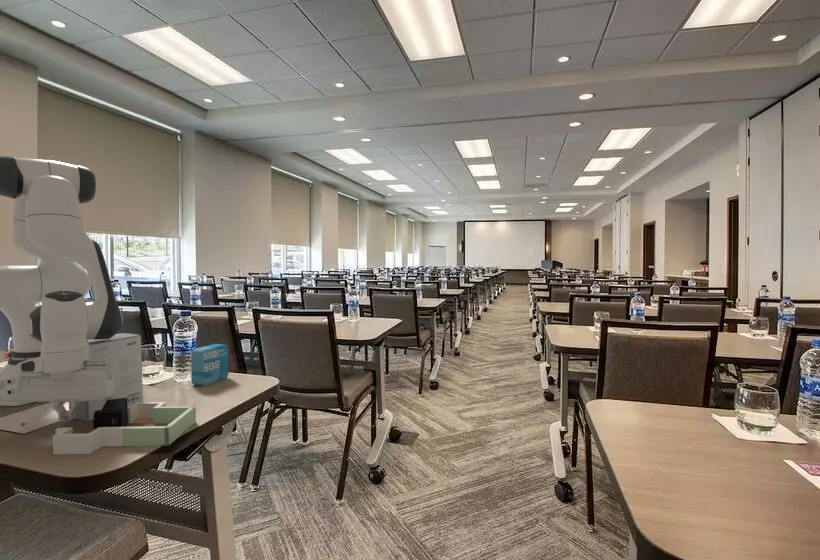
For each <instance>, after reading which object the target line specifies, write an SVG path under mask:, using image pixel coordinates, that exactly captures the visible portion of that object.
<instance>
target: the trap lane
mask: <svg viewBox="0 0 820 560" xmlns="http://www.w3.org/2000/svg"><path fill="white" fill-rule="evenodd" d="M102 408H103V407H97V408H95V411H98V410H102ZM196 408H197V407H196V406H195V405H194V406H192V405H189V406H186V405H185V406H183V405H182V406H167V402H166V401H150V402H149V401H143V402H136V403H134V404H132V405H131V406H129V407H128V425H148V424H150V425H151V424H153V425H154V424H155V426H152V425H151V426H127V427H98V428H97V429H95V430H94V429H93V430H92V431H90V432H88V433H74V427H57V428H56V429H55V434H54V435H53V436H52V448H53V449H52V450H53V451H52V454H53V455H86V454H88V455H90V454H92V453H94V452H96V451H97V450H98V449H100V448H101V447H102V448H103V447H151V446H153V447H154V446H155V447H156V446H157V447H159V446H160V445H164V446H170V445H172V443H174V442H175V441H176V440H177V439H178V438H179V437H180V436H181V435H183V432H184V431H185V430H186V431H187V430H188V429H189V428H190V427H192V426H193V425H194V424H195V423H197V421H196V420H197V418H196V417H197V416H196V411H197V410H196ZM158 424H163V425H164V424H167V425H164V426H163V425H162V426H161V425H159V426H158ZM156 425H157V426H156ZM186 431H185V432H186ZM185 432H184V433H185Z"/></svg>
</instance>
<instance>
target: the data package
mask: <svg viewBox="0 0 820 560" xmlns="http://www.w3.org/2000/svg"><path fill="white" fill-rule="evenodd" d="M190 356H191V357H190V359H191V360H190V366H191V368H190V369H191V370H190V371H191V374H190V375H191V383H192V385H194V386H200V387H201V386H202V387H205V386H206V387H207V386H209V385H212V384H215V383H218V382H221V381H223V380H226V379H227V378H228V377H229V347H228V345H227V344H223V343H221V344H220V343H214V344H209V345H205V346H201V347H197V348H196V347H195V348H194V349H192V351H191V353H190Z"/></svg>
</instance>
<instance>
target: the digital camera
mask: <svg viewBox="0 0 820 560" xmlns="http://www.w3.org/2000/svg"><path fill="white" fill-rule="evenodd" d="M92 422H93V423H92V424H93V425H92V427H93V430H95V429H97V428H98V427H128V425H129V424H128V406H127V398H119V399H110V400H107V401H106V403H105V404H104V406H103V408H102V410H98V411H95V412H94V418H93V421H92Z"/></svg>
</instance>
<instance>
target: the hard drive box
mask: <svg viewBox="0 0 820 560" xmlns="http://www.w3.org/2000/svg"><path fill="white" fill-rule="evenodd" d="M87 341H88V343H89V361H106V362H107V363H109V364H110V365H111V366H112V367H113V378H114V383H115V394H114V396H113V397H112V398H110V399H119V398H127V406H128V407H129V406H131V405H132V404H134V403H136V402H144V387H143V385H144V383H143V353H142V335H141V334H137V333H124V332H121V333H117V334H116V335H114V336H113V337H111V338H110V339H95V340H93V339H88V340H87ZM105 366H108V365H105ZM110 399H108V400H110ZM106 401H107V400H106ZM106 401H89V402H81V404H80V406H79V408H78V409H77V410H76V418H75V419H74V420H78V421H84V422H91V421H92V420H93V418H94V412H95V408H97V407H103V406H104V404H105V403H106ZM71 407H72V406H69V405H68V411H69V410H70V408H71Z"/></svg>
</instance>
